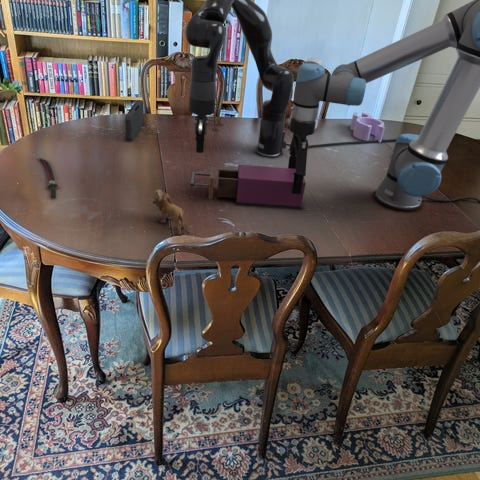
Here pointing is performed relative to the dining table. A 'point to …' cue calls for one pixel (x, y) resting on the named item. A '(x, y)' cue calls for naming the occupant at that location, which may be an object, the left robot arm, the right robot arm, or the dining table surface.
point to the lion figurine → (169, 209)
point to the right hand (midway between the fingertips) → (293, 183)
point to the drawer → (220, 182)
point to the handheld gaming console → (134, 120)
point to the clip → (366, 127)
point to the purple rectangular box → (267, 187)
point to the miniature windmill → (217, 109)
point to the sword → (52, 181)
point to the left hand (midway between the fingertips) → (199, 151)
